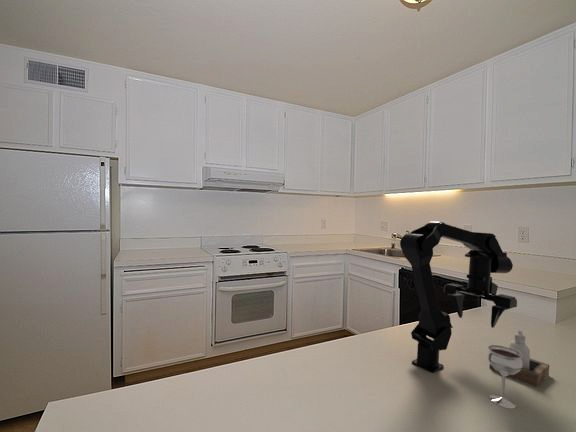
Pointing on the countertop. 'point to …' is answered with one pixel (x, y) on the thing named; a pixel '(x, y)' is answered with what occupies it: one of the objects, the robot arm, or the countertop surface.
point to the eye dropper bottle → (521, 348)
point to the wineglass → (504, 369)
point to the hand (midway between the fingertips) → (476, 322)
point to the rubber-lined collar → (532, 372)
